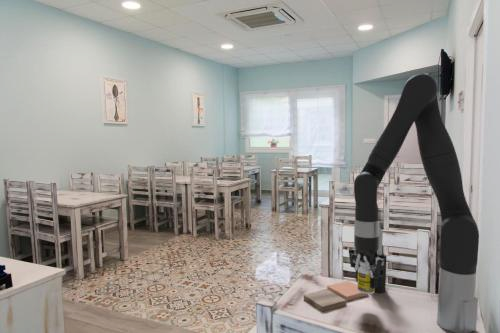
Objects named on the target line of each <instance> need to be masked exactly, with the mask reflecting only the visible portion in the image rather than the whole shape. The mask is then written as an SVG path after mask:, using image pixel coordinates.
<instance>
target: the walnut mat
mask: <svg viewBox="0 0 500 333" xmlns="http://www.w3.org/2000/svg"><path fill="white" fill-rule="evenodd" d="M303 300H305V301H306V302H307V303H309V304H311V305H312V306H314V307H315V308H317V309H318V310H320V311H321V312H326V311H329V310H332V309H336V308H338V307H339V308H340V307H342V306H346V305H347V301H346V300H345V299H343V298H342V297H340V296H338V295H336V294H335V293H333V292H331V291H329V290H328V289H327V288H326V289H321V290H318V291H314V292H309V293H304V294H303Z"/></svg>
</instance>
